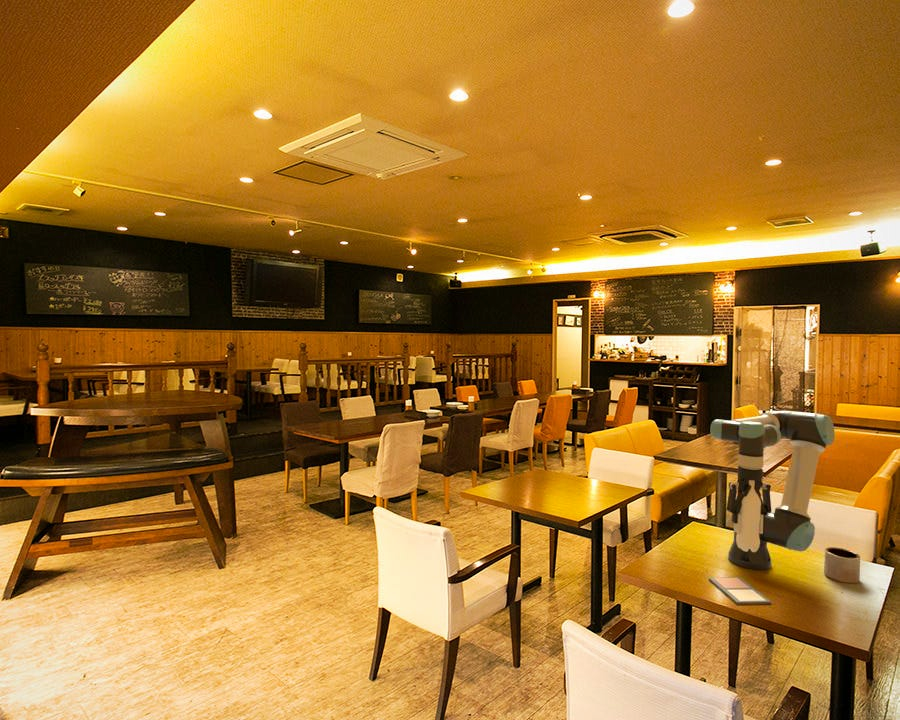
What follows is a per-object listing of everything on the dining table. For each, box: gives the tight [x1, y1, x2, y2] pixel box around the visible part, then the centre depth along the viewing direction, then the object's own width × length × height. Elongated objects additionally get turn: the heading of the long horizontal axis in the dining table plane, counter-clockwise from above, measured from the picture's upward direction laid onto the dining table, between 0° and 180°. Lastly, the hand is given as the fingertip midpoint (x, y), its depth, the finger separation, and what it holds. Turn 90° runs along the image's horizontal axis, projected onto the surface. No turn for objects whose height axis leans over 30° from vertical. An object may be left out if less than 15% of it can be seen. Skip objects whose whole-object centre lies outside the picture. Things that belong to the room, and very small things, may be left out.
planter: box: [823, 546, 861, 584], centre depth 197 cm, size 11×11×10 cm
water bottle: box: [736, 480, 761, 552], centre depth 180 cm, size 7×7×25 cm
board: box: [708, 576, 772, 605], centre depth 186 cm, size 12×18×1 cm, turn 2°
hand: (748, 532), depth 180 cm, fingers closed on water bottle, 7 cm apart
